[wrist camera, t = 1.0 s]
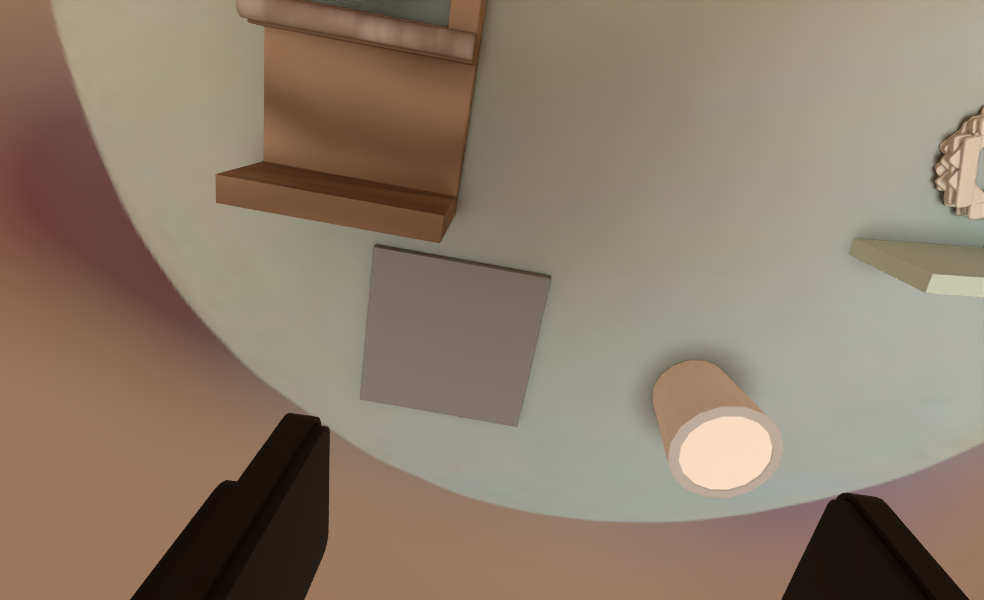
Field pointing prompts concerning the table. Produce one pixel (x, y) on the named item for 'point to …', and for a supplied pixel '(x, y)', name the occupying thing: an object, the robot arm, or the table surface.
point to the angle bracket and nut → (935, 262)
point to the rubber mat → (450, 335)
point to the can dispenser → (361, 117)
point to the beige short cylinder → (714, 431)
